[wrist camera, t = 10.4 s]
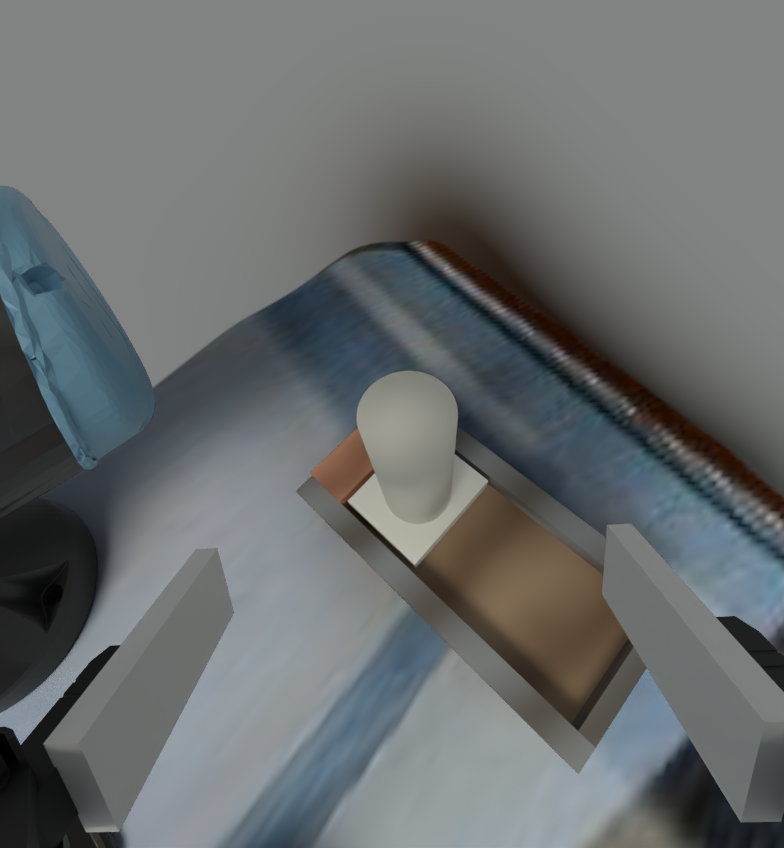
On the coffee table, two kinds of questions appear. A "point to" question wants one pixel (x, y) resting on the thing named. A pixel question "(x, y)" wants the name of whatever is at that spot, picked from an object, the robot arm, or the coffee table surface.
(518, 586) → the track
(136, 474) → the coffee table surface
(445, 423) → the disc
